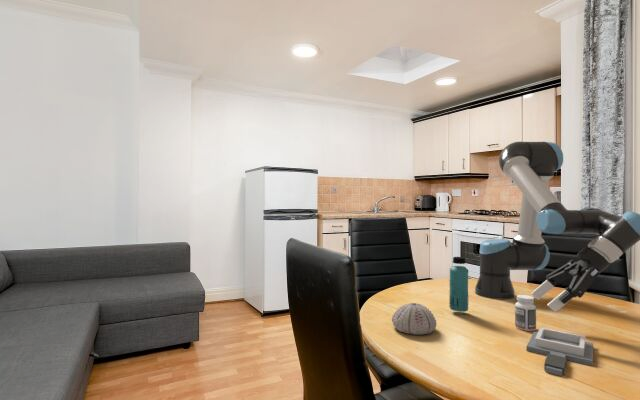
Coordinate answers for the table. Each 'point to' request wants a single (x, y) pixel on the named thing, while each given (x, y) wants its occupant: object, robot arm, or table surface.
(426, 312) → the sea urchin shell
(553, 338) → the holder
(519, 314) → the pill bottle
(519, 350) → the table surface
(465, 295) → the beverage bottle
